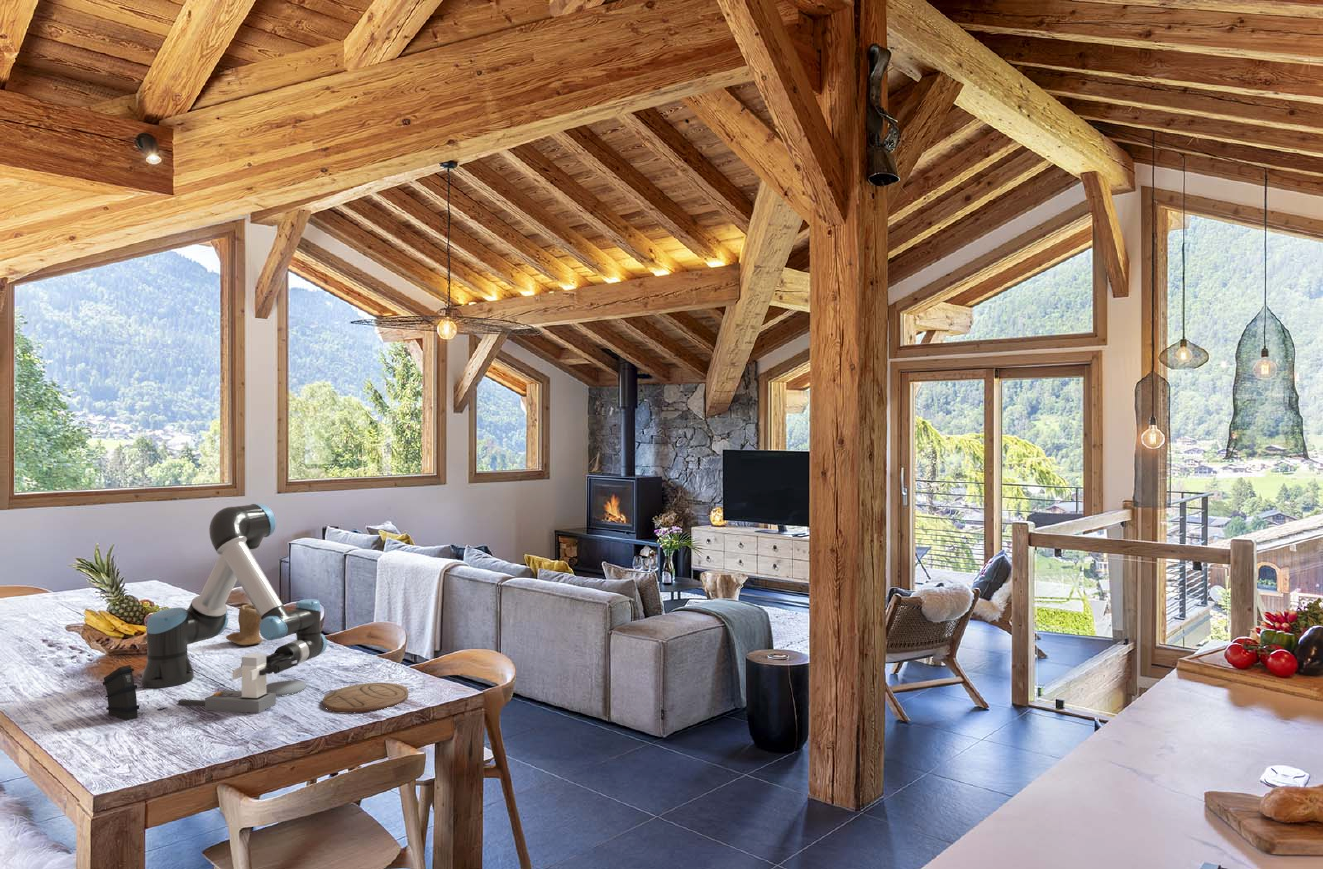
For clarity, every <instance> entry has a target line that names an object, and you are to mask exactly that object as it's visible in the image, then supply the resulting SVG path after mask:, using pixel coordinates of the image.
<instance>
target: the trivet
mask: <svg viewBox="0 0 1323 869" xmlns="http://www.w3.org/2000/svg"><path fill="white" fill-rule="evenodd" d="M408 697H409V690H408V688H407V687H406V686H405V685H403V684H398V683H390V682H368V683H360V684H354V685H349V686H345V687H340V688H337V689H335V690H333V691H330V692H329V693H327V694H325V695H324V697H323V698H322V706H324V707H325V708H327V709H328V710H327V709H326V710H327V711H329V710H331V711H330V712H333V711H334V712H333V713H339V712H351V713H350V714H355V713H354V712H364V713H370V711H372V712H377V710H378V711H382V710H385V709H384V708H387V707H390V708H393V707H396V706H398V705H400V704H402V703H404V702H405V701H406V700H407V699H408ZM399 703H400V704H399ZM397 704H398V705H397ZM395 705H396V706H395ZM324 707H323V708H324ZM325 708H324V709H325ZM381 709H382V710H381ZM387 709H388V708H387Z"/></svg>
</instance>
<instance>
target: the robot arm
mask: <svg viewBox="0 0 1323 869" xmlns="http://www.w3.org/2000/svg"><path fill="white" fill-rule="evenodd" d="M209 524H210V525H209V530H208V531H209V539H210V541H211V544H212V547H213V548H214V551H216V554H218V555H219V556H218V557H217V560H216V561H215V563H214V566H213V569H212V570H211V572H210V574H209V576H208V578H207V580H206V582H205V584H204V586H203V589H202V591H201V593H200V595H197V596H195V597H194V598H193V599H192V601H191V602H190V604H189V607H188V608H187V609H186V608H184V607H172V608H170V607H169V609H168V608H165V609H162V610H158V611H156V612H154V613H151V614H150V615H149V617H148V618H147V622H146V648H147V649H146V651H147V652H146V656H147V657H146V659H147V660H146V664H145V667H144V668H143V669H144V670H143V672H142V675H141V686H142V687H145V688H152V689H153V688H168V687H173V686H177V685H178V686H179V685H182V684H187V683H188V682H190V681H192V680H193V679H194V678H195V677H194V669H193V667H192V664H191V661H190V658H189V656H188V645H191V644H195V643H198V642H202V641H205V640H209V639H213V638H215V637H217V636H219V635H221V634H222V633H223V632H224V631H225V629H226V628H227V626H228V624H229V617H228V616H229V612H228V607H227V605H226V603H227V601H228V599H229V597H230V595H231V592H232V591H233V589H234V587H235V585H236V583H237V581H238V583H239V585H240V586H241V588H242V590H243V591H244V593H245V594H246V596H247V598H248V600H249V601H250V602H251V605H253V606H254V608H255V609H256V611H257V613H258V614H259V616H260V618H261V619H262V621H261V622H260V625H259V629H260V632H259V635H260V637H262V638H263V639H264V640H267V641H275V640H280V639H283V638H285V637H289V636H291V635H294V634H295V635H296V639H295V640H293V641H290V642H287V643H285V644H282V645H280V646H278V647H277V648H276V649H275V650H274V653H271V654H270V655H266V665H264V666H261V667H259V668H256V669H254V670H252V671H250V681H252V680H255V679H257V678H259V677H261V676H264V675H266V676H267V675H270V674H275V675H277V674H279V673H281V672H283V671H287V670H289V669H291V668H293V667H296V666H298V665H300V664H301V663H304V662H306V661H309V660H310V659H313V658H316V657H317V656H319V655H321V654H322V653H324V652H326V649H327V646H328V640H327V638H326V636H325V635H324V634H323V633H322V632H321V615H322V614H321V613H322V611H321V603H320V600H318V599H315V598H314V599H313V598H307V599H300V600H298V601H297V602H296V603H295V607H294V609H291V610H287V609H286V607H285V606H284V604H283V603H282V602H283V601H282V600H281V599H280V597H279V595H277V593H276V591H275V589H274V587H273V585H272V584H271V582H270V581H269V579H268V578H267V576H266V574H265V573H264V571H263V569H262V568H261V566H260V564H259V563H258V561H257V560H256V558H255V556H254V555H253V552H252V551H254V550H258V548H259V547H260V545H261V543H262V541H263V540H264V538H268V537H270V536H271V535H272V534H273V533H274V532H275V531H276V526H277V520H276V518H275V514H274V511H273V510H272V508H270V507H269V506H267V505H265V504H262V503H252V504H248V505H247V504H246V505H237V506H228V507H227V506H226V507H225V508H222V509H220V510H218V511H217V512H216V513H215V514H214V516H212V518H211V520H210V523H209ZM240 678H242V662H241V663H240V666H239V667H237V668H235V669H233V670H232V680H237V679H240Z"/></svg>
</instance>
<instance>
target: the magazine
mask: <svg viewBox="0 0 1323 869" xmlns="http://www.w3.org/2000/svg"><path fill="white" fill-rule="evenodd" d="M134 671H135V669H134V668H133V667H132V666H131V664H129V665H124V666H120V667H118V668H117V669H115V670H114V671H112V672H110V673H109V674H108V675H106V676H105V677H103V682H102V686H105V689H106V695H105V696H104V697H105V699H106V698H107V706H106V708H105V709H106V711H108V712H107V713H108V715H109V716H112V717H115V718H119V719H122V720H124V721H127V720H128V721H131V720H134V718H135V719H137V718H138V710H140V705H139V704H138V701H137V700H138V699H137V693H136V692H137V691H136V690H137V689H138V684H135V678H134V675H133V672H134Z"/></svg>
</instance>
